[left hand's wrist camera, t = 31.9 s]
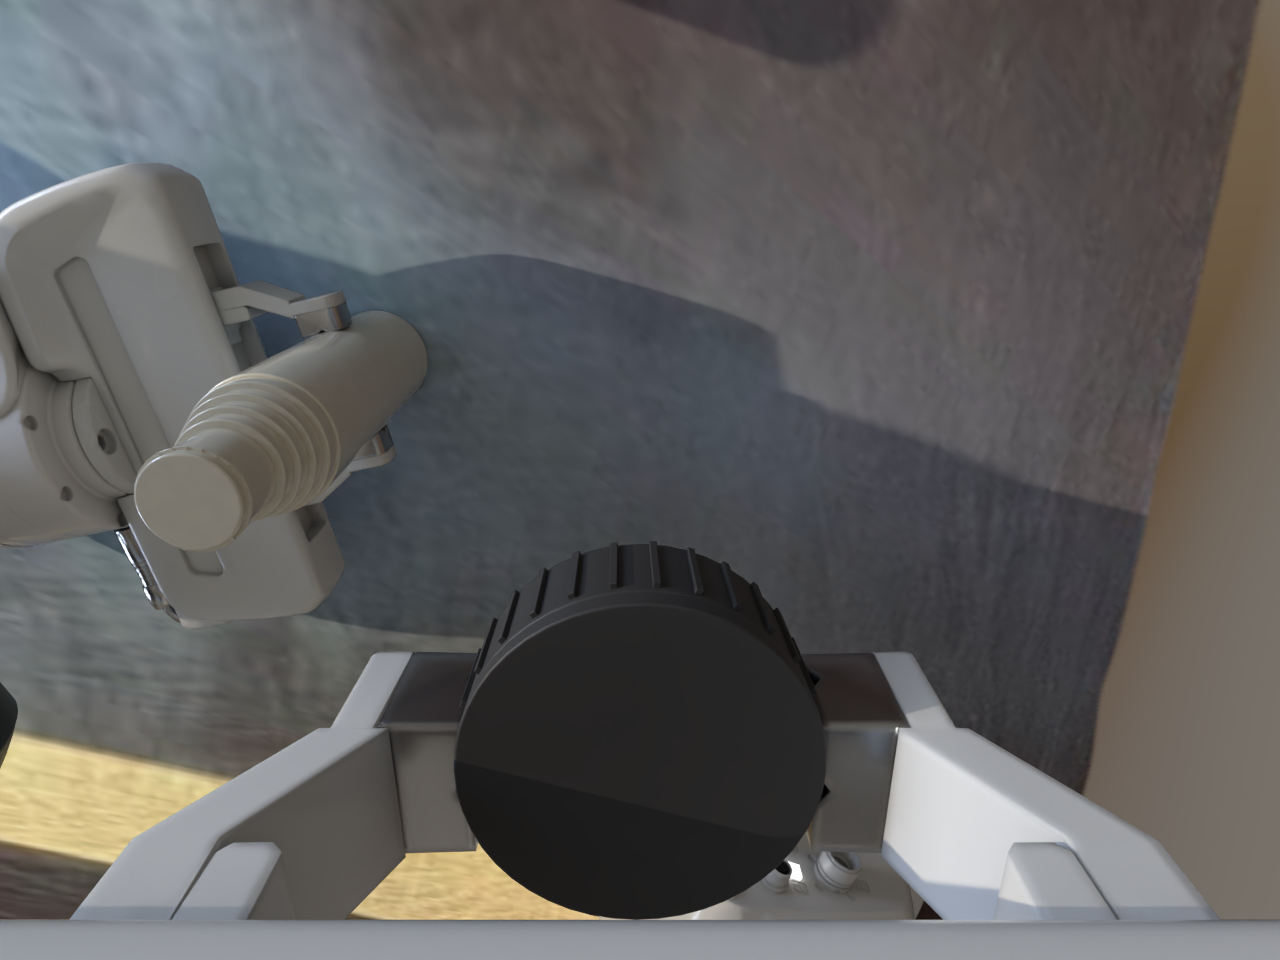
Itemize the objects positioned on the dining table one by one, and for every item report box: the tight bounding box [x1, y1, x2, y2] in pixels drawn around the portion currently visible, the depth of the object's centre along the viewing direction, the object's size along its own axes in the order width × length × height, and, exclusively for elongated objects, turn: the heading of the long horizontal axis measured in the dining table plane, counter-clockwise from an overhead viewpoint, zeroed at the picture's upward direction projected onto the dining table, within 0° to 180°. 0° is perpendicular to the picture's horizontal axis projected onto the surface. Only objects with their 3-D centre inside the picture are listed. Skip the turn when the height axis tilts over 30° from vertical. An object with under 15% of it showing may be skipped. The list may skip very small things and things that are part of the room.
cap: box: [454, 541, 827, 920], centre depth 9 cm, size 4×4×2 cm
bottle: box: [134, 311, 428, 552], centre depth 30 cm, size 5×5×20 cm
